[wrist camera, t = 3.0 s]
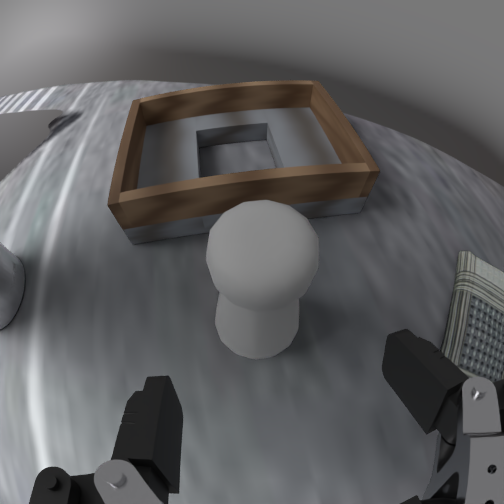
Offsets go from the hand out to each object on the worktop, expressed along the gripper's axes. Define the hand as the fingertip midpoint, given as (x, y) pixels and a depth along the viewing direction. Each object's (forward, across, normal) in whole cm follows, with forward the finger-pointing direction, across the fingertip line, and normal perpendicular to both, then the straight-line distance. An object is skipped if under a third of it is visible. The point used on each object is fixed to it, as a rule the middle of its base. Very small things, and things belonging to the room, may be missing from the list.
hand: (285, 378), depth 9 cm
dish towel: (+5, -24, +12) cm, 27 cm away
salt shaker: (+11, 0, +5) cm, 12 cm away
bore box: (+23, -1, -8) cm, 24 cm away
